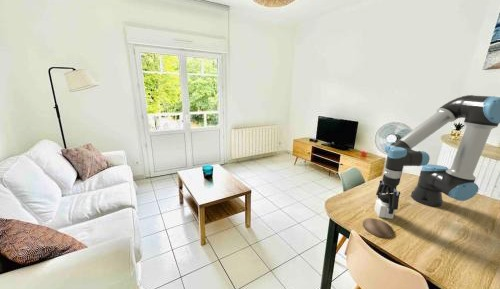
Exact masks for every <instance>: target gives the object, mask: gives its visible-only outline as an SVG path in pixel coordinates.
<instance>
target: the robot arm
mask: <svg viewBox="0 0 500 289" xmlns="http://www.w3.org/2000/svg"><path fill="white" fill-rule="evenodd" d="M462 118H463V119H464V121H463V124H465V125H466V127H465V129H464V132H463V134H462V137H461V141H460V143H459V146H458V147H457V151H456V154H455V156H454V159H453V160H452V165H451V167H450V168H448V167H447V166H444V165H439V164H431V163H429V162H430V158H431V157H430V155H429V153H428V152H426V151H421V150H418V151H417V150H415V149H413V148H414V147H417V145H419V144H421V143H422V142H424V141H425V140H426V139H427V138H429V137H430V136H431V135H433V134H434V133H436V132H437V131H439V130H440V129H442V128H443V127H444V126H446V125H447V124H448V123H450V122H451V123H452V122H454V121H456V120H457V119H462ZM499 124H500V97H499V96H495V95H494V96H489V95H473V94H470V95H469V94H467V95H463V96H460V97H457V98H454V99H452V100H450V101H448V102H447V103H444V104H443V105H442V106H440V107H439V108H437V109H436V112H435V113H434V114H433V115H431V116H430V117H429V118H427V119H425V120H424V121H423V122H422V123H421V124H419V125H418V126H416V127H415V128H414V129H412V130H411V131H410V132H408V133H407V134H405V135H404V136H403V137H401V138H400V139H399V140H397V141H396V142H393V141H391V142H388V143H386V145H385V146H384V151H385V153H386V154H387V156H386V160H385V161H386V162H385V166H384V170H383V171H384V172H383V175H382V179H381V180H379V185H378V188H377V191H376V194H375V195H376V196H377V199H379V200H380V197H381V194H383V193H385V194H387V195H388V198H389V207H388V208H387V212H386V216H385V218H384V219H390V218H391V217H392V214H393V211H394V210H395V211H396V210H398V209H399V201H400V195H401V191H398V190H397V186H399V185H400V182H401V178H402V174H403V171H404V167H421V169H420V173H419V177H418V181H417V185H416V186H415V187H414V189H413V190H412V191H411V193H410V198H412V199H413V200H414V201H416V202H417V203H420V204H422V205H426V206H430V207H440V206H442V205H443V201H444V200H443V194H444V195H446V196H448V197H449V198H451V199H453V200H456V201H459V202H464V201H469V200H471V199H473V197H475V196H476V195H477V194H478V192H479V189H480V188H479V185H478V184H477V183H476V182H475V181H476V176H475V175H474V173H475V170H476V168H477V166H478V163H479V160H480V158H481V156H482V153H483V151H484V148H485V146H486V143H487V141H488V139H489V136H490V134H491V131H492V130H493V129H495V128H498V127H499ZM442 193H443V194H442Z"/></svg>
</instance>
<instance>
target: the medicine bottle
mask: <svg viewBox="0 0 500 289" xmlns="http://www.w3.org/2000/svg"><path fill="white" fill-rule="evenodd" d="M388 207H389V198H388V195H387V193H386V194H385V193H383V194H381V197H380V200H379V199H378V198H377V199H376V200H375V204H374V212H375V213H376V215H377V216H378V217H379V218H384V219H386V218H385V216H386V212H387V208H388ZM395 211H396V210H394V211H393V214H392V217H391V218H389V219H394V216H395V213H396V212H395Z"/></svg>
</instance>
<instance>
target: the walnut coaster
mask: <svg viewBox="0 0 500 289" xmlns="http://www.w3.org/2000/svg"><path fill="white" fill-rule="evenodd" d="M362 226H363V229H364V230H366V231H367V232H368V233H369V234H371V235H374V236H375V237H379V238H385V239H387V238H391V237H392V236H393V235H394V229H393V227H392V226H391V225H390V224H389V223H387V222H385V221H383V220H381V219H377V218H371V217H370V218H366V219H364V221H363V223H362Z"/></svg>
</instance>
